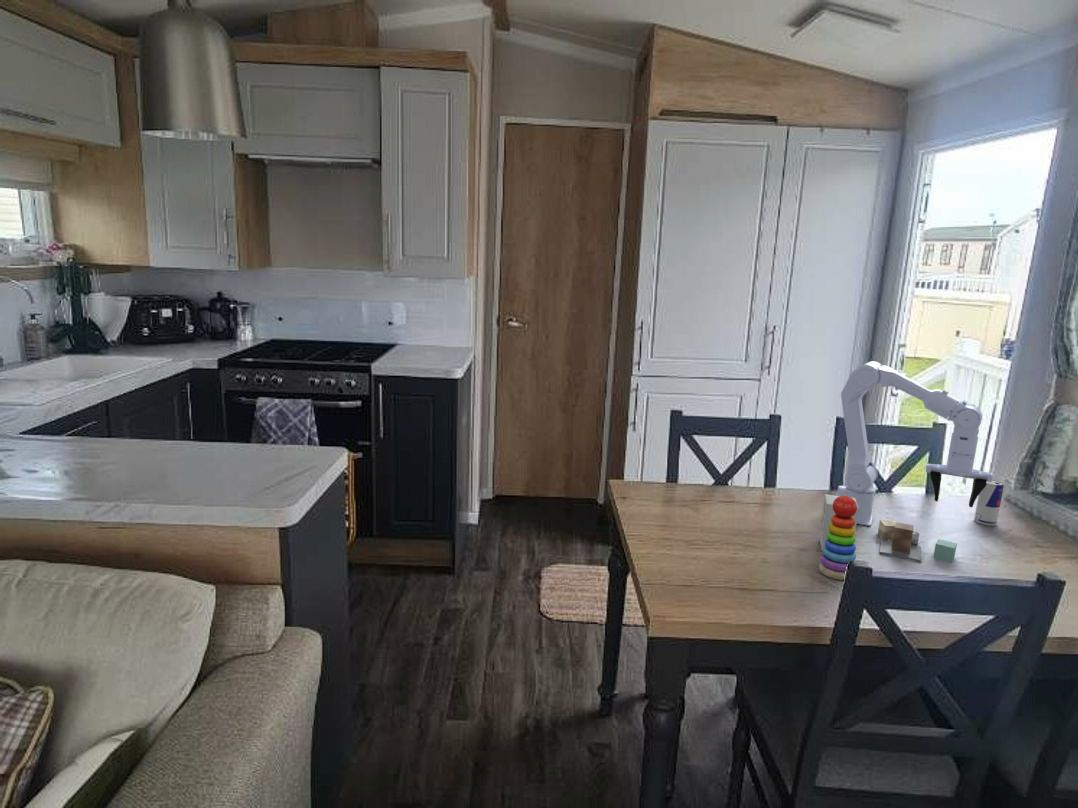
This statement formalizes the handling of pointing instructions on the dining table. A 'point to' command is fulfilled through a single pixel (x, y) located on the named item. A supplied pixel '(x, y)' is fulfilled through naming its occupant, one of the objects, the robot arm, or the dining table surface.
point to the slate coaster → (887, 550)
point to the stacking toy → (839, 539)
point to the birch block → (886, 529)
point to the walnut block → (902, 537)
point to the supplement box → (827, 516)
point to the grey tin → (915, 538)
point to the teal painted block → (945, 550)
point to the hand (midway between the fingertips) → (953, 503)
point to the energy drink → (989, 503)
